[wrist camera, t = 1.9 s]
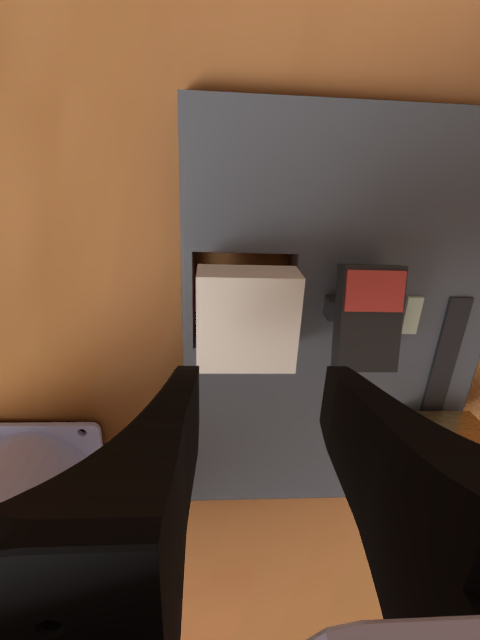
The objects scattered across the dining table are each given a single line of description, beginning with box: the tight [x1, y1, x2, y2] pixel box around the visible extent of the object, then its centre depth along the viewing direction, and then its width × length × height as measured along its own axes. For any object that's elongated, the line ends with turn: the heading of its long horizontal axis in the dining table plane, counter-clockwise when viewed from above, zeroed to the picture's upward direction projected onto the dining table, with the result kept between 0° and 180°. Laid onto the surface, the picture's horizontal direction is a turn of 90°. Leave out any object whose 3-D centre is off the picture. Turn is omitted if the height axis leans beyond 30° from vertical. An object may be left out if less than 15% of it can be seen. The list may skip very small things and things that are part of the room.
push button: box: [196, 264, 306, 374], centre depth 17 cm, size 4×4×2 cm
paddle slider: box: [416, 411, 480, 444], centre depth 21 cm, size 4×2×3 cm, turn 88°
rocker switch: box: [331, 264, 409, 372], centre depth 18 cm, size 3×5×1 cm, turn 178°
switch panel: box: [178, 89, 480, 501], centre depth 21 cm, size 16×22×2 cm
